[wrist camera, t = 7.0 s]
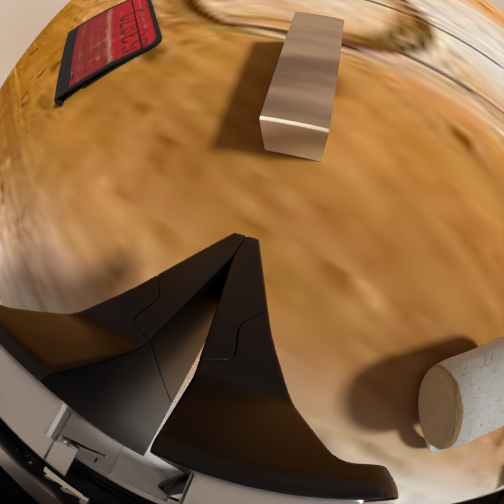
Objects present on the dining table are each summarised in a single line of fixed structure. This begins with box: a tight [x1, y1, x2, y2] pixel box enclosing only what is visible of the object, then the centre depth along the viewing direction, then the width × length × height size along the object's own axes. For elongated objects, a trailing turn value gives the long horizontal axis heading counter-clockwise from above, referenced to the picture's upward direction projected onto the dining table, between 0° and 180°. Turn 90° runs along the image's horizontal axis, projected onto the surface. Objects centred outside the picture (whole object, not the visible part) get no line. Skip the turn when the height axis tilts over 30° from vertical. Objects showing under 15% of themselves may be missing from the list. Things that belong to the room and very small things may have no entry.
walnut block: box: [259, 12, 344, 162], centre depth 19 cm, size 4×4×14 cm
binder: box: [54, 0, 162, 106], centre depth 26 cm, size 16×2×21 cm
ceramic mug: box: [418, 337, 504, 452], centre depth 13 cm, size 11×8×8 cm
